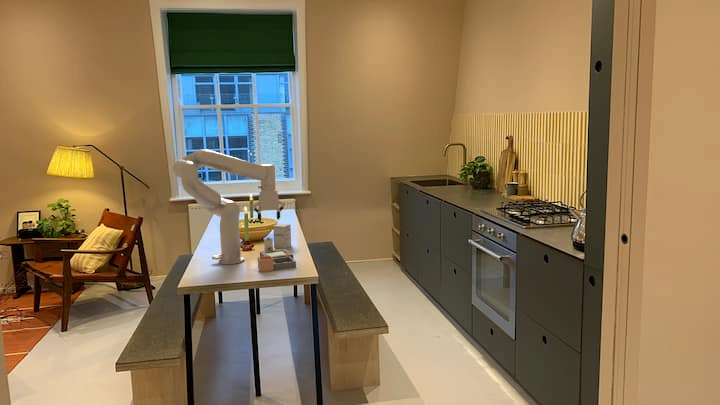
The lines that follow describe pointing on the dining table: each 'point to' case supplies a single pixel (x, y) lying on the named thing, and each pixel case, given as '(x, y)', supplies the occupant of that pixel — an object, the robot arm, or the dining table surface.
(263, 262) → the orange open cube box
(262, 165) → the robot arm
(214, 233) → the dining table surface
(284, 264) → the tray
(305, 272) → the dining table surface
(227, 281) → the dining table surface
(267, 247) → the cell
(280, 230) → the supplement box
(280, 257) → the box
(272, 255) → the pale green square panel
